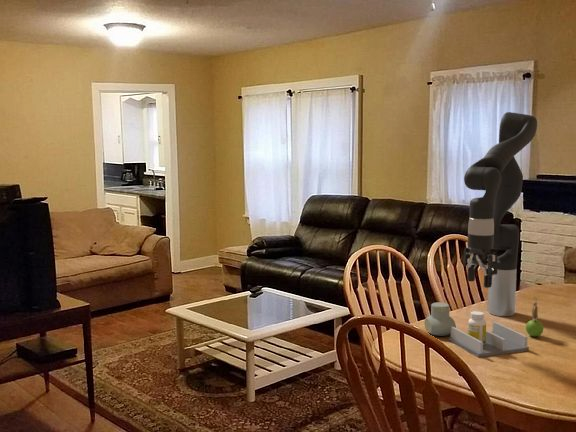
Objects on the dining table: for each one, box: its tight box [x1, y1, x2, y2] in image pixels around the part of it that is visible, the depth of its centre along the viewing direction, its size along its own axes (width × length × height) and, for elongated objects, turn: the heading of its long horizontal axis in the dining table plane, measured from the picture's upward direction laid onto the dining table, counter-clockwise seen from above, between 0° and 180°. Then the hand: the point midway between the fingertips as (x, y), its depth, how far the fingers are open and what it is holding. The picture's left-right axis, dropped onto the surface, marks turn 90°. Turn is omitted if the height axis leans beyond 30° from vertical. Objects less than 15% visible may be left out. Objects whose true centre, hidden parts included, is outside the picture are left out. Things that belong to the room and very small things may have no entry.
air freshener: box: [423, 301, 457, 337], centre depth 202 cm, size 11×8×10 cm
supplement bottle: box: [467, 310, 487, 345], centre depth 189 cm, size 5×5×10 cm
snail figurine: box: [525, 297, 544, 337], centre depth 199 cm, size 5×6×12 cm
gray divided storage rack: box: [448, 321, 530, 358], centre depth 190 cm, size 16×18×4 cm
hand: (479, 284), depth 187 cm, fingers open, 8 cm apart
